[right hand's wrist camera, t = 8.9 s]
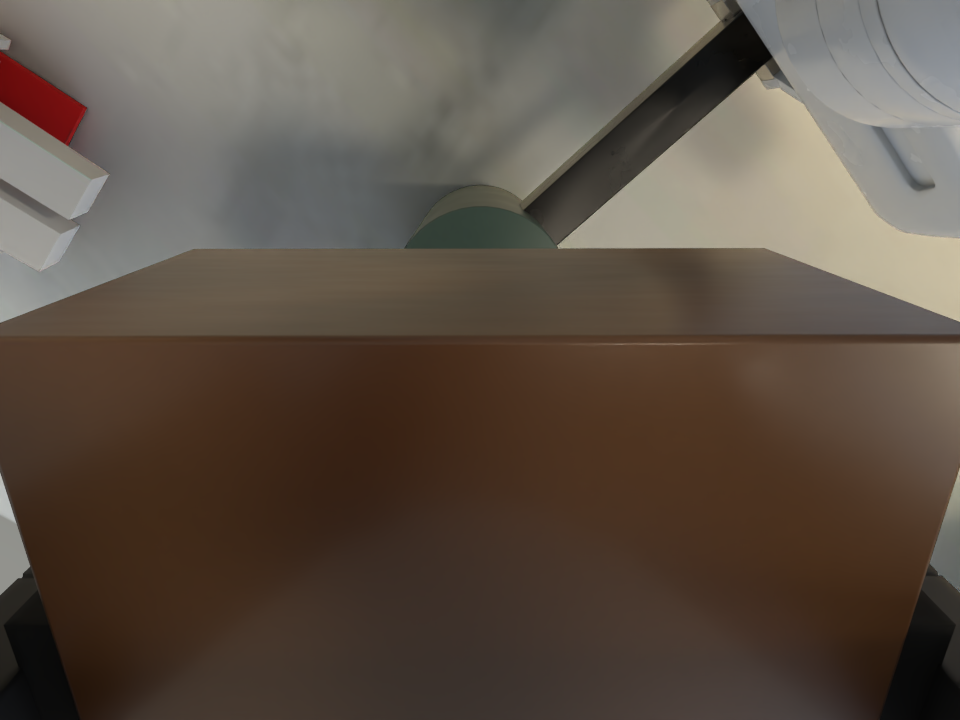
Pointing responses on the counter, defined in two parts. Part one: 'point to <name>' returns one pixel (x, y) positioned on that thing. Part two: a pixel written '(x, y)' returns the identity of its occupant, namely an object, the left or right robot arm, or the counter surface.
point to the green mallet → (601, 153)
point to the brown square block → (479, 484)
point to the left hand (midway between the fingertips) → (748, 30)
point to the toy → (40, 167)
